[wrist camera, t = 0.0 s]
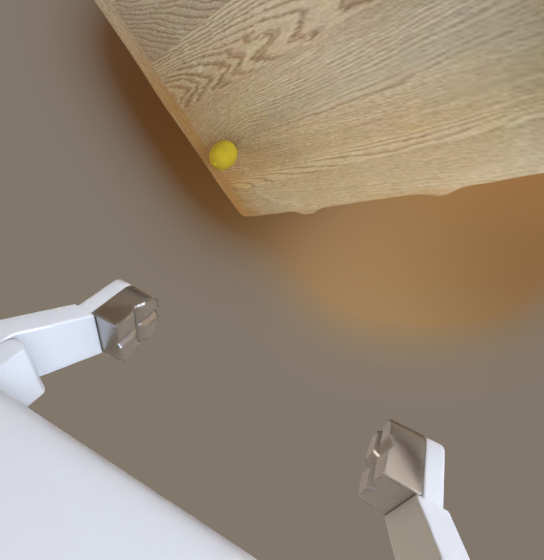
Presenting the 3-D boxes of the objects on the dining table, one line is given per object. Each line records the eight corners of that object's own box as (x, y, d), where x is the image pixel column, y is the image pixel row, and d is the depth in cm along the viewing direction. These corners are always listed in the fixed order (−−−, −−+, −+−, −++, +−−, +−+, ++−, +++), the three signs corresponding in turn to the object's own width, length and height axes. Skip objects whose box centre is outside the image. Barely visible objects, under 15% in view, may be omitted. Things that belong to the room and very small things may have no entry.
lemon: (236, 131, 71) (216, 152, 67) (247, 155, 75) (229, 176, 71) (218, 135, 74) (198, 155, 70) (229, 157, 78) (210, 177, 74)
